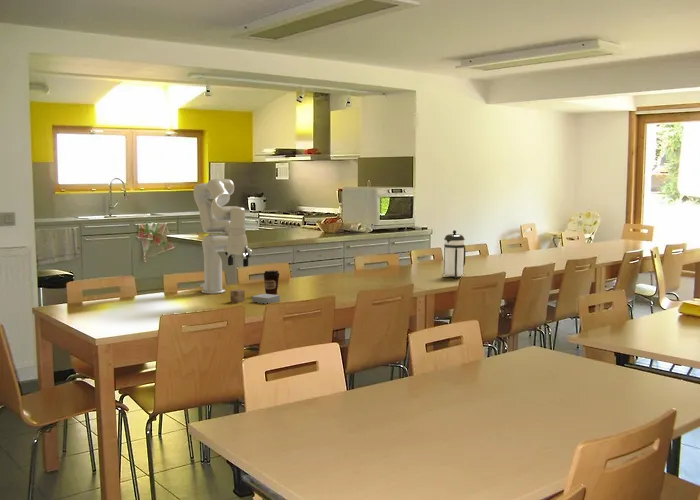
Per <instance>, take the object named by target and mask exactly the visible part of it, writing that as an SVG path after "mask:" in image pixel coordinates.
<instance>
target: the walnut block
mask: <svg viewBox="0 0 700 500" xmlns="http://www.w3.org/2000/svg"><path fill="white" fill-rule="evenodd" d="M229 292H230V295H229V296H230V303H233V302H236V303H235V304H240V303H239V302H241V303H244V302H243V301H245V296H246V295H245V289H237V288H236V289H232V290H231V289H230V291H229Z"/></svg>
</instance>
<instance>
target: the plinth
mask: <svg viewBox="0 0 700 500" xmlns="http://www.w3.org/2000/svg"><path fill="white" fill-rule="evenodd" d="M251 300H252V301H251V303H254V302H257V303H256V304H263V303H264V304H265V305H268V304H267V303H271V304H274V303H273V302H275V303H278V302H280V301H281V295H279V294H278V295H272V294H265V293H260V294H256V295H252V297H251Z"/></svg>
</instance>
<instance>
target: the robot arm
mask: <svg viewBox="0 0 700 500" xmlns="http://www.w3.org/2000/svg"><path fill="white" fill-rule="evenodd" d="M234 192H235V184H234V182H233V181H232V179H230V178H213V179H210V180H209V181H207V182H203V183H197V184H196V185H195V186H194V188H193V198H194V202H195V204H196V206H197V209H198V211H199V217H200V223H201V228H202V231H203V232H204V233H206V234H207V235H205V236H203V238H202V239H201V240H202V241H201V244H202V245H201V246H202V251H203V265H204V266H203V267H204V268H203V269H204V273H203V274H204V275H203V279H204V283H201V284H199V287H200V288H202V289H201V293H203V294H208V295H210V294H211V295H212V294H213V295H214V294H222V293H225V292H226V289H225V288H223V260H222V257H221V256H220V255H219V252H220V253H221V252H224V254H225V256H226V258H227V265H228V266H233V265H234V257H233V255H236V256H242V257H243V259H242V264H243V265H242V266H243V267H244V268H245V267H246V268H247V267H249V259H250V257H251V256H252V254H253V253H252V252H253V250H252V249H251V248H249V247H248V246H249V245H248V238H247V234H246V208H244V207H240V206H235V205H233V206H230V205H229V206H227V204H228V203H229V202H230V199H231V195H233V194H234ZM209 199H211V200H212V201H209ZM225 205H226V206H225ZM219 233H220V234H219Z"/></svg>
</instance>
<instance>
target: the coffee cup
mask: <svg viewBox="0 0 700 500" xmlns="http://www.w3.org/2000/svg"><path fill="white" fill-rule="evenodd" d="M263 278H264V279H263V281H264V282H263V283H264V291H265V293H264V294H272V295H279V294H278V288H279V279H280V272H279V270H275V269H274V270H273V269H272V270H265V271H264V273H263Z"/></svg>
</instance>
